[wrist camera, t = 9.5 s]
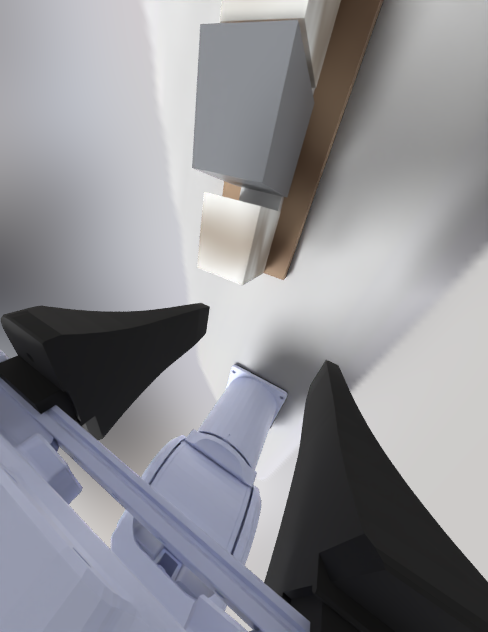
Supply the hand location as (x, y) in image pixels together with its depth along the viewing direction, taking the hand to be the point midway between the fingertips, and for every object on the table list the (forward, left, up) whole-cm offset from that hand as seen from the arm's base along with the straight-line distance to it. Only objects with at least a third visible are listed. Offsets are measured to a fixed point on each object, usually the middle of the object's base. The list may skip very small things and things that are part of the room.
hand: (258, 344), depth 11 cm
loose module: (+10, +5, -8) cm, 14 cm away
